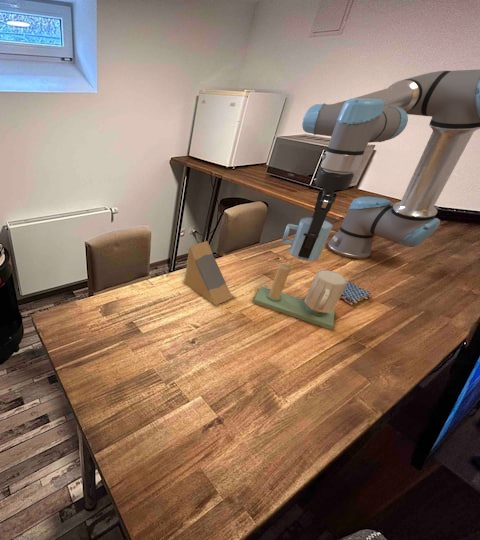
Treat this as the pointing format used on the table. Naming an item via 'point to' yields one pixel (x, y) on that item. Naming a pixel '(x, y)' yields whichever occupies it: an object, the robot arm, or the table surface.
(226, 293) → the sandwich container
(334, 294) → the cream cup
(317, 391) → the table surface
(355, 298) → the woven mat
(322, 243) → the blue cup
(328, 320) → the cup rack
